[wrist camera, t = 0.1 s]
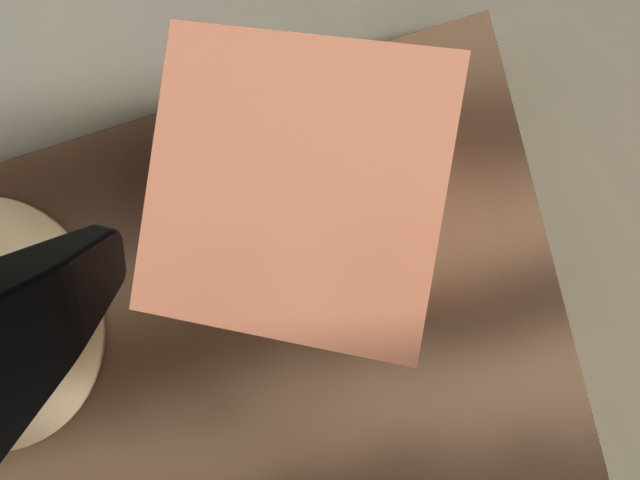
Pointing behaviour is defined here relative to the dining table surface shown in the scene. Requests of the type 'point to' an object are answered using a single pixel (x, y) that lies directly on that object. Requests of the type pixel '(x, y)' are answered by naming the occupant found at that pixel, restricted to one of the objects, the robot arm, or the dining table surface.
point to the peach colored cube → (299, 186)
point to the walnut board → (314, 363)
